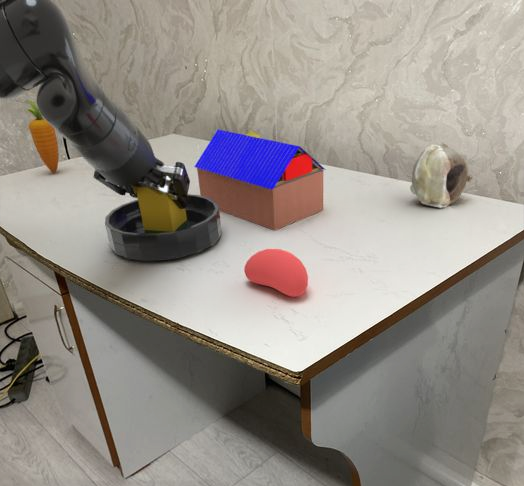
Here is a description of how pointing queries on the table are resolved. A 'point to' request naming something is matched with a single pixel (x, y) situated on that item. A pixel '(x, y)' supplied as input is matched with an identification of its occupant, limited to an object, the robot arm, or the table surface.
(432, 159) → the sea shell
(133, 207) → the bowl
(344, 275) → the table surface
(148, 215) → the sponge
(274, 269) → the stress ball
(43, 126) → the carrot
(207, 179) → the house
